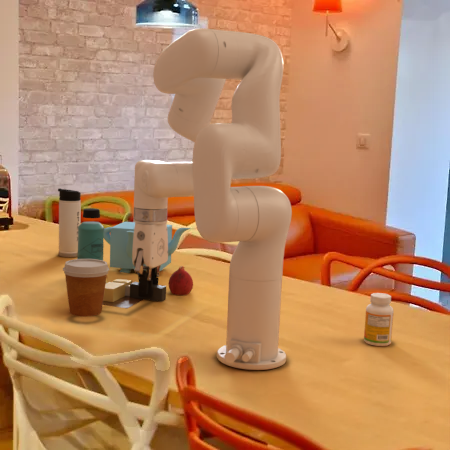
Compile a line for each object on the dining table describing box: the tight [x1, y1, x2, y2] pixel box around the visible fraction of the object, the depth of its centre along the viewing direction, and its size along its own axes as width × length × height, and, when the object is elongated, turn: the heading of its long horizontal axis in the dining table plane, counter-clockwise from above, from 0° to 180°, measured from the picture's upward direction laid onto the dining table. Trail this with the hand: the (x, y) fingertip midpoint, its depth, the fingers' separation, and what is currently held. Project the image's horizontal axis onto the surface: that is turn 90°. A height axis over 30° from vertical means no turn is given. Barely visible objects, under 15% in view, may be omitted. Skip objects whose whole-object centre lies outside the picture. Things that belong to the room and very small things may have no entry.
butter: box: [103, 281, 125, 302], centre depth 168 cm, size 6×4×3 cm, turn 161°
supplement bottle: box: [363, 292, 394, 347], centre depth 148 cm, size 5×5×10 cm
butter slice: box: [111, 278, 133, 286], centre depth 173 cm, size 2×4×3 cm, turn 71°
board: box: [102, 296, 144, 309], centre depth 170 cm, size 16×12×2 cm
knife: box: [125, 281, 167, 303], centre depth 170 cm, size 15×2×3 cm, turn 71°
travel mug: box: [57, 188, 82, 258], centre depth 220 cm, size 6×7×20 cm
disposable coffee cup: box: [62, 258, 110, 317], centre depth 156 cm, size 10×10×12 cm
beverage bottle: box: [76, 207, 105, 261], centre depth 180 cm, size 6×7×20 cm
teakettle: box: [103, 221, 191, 274], centre depth 203 cm, size 19×19×15 cm
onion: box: [167, 265, 194, 296], centre depth 176 cm, size 6×6×8 cm
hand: (148, 294), depth 169 cm, fingers closed on knife, 2 cm apart
